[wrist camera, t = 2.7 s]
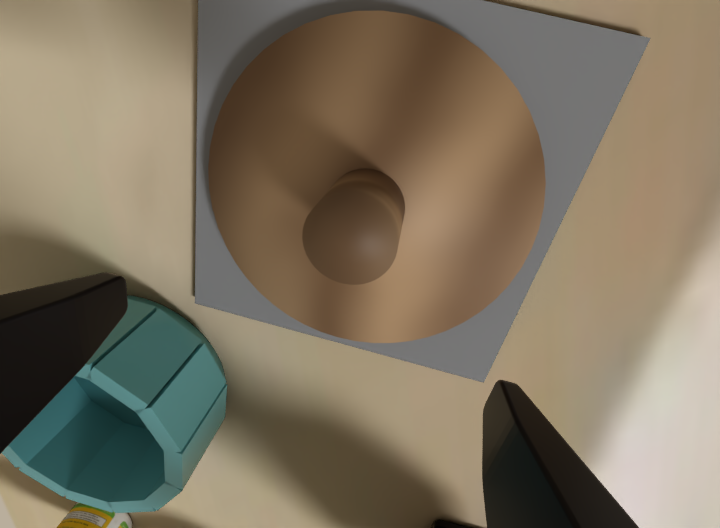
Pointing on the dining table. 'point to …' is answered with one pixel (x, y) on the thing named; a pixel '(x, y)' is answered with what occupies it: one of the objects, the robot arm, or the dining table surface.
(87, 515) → the supplement bottle
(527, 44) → the mat
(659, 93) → the dining table surface
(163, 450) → the bowl
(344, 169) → the lid
